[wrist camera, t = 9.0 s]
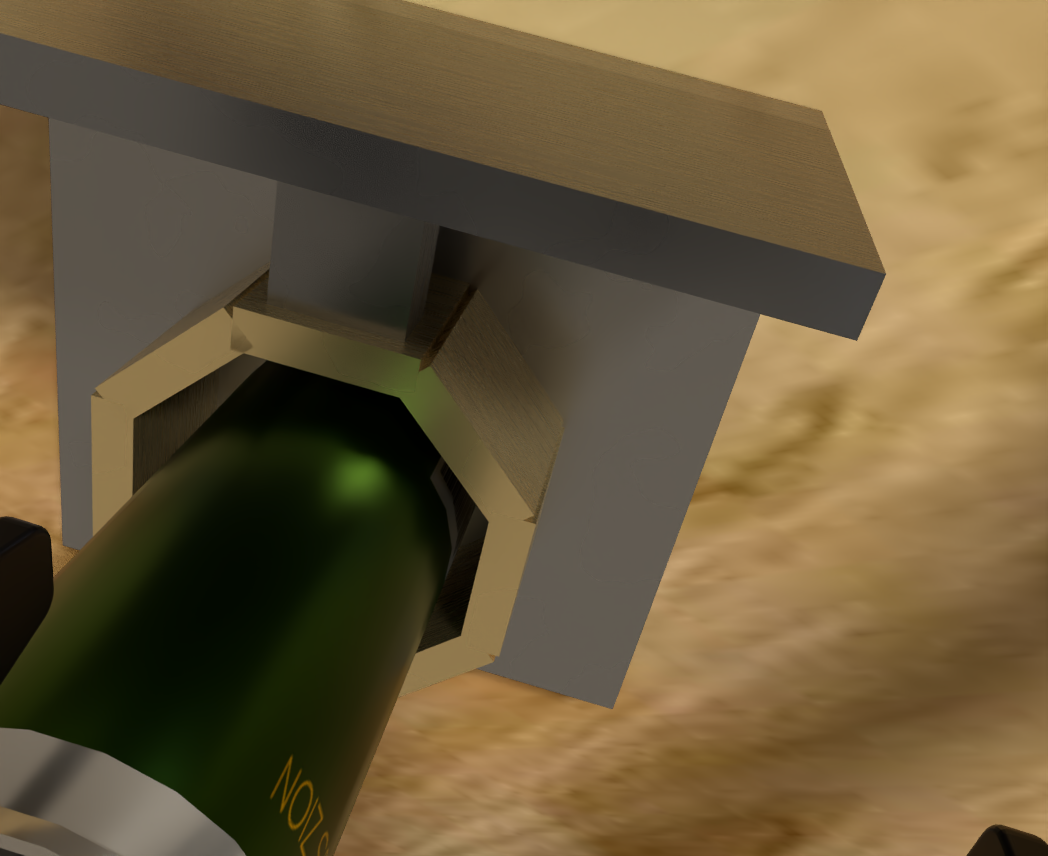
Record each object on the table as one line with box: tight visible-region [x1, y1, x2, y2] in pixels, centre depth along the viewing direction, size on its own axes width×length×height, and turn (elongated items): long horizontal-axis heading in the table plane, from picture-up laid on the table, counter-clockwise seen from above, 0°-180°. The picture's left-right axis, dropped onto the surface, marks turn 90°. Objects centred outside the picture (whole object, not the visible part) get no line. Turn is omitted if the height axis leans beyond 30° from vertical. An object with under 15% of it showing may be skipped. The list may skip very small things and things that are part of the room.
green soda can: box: [0, 360, 476, 856], centre depth 16 cm, size 5×5×12 cm
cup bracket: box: [0, 0, 886, 709], centre depth 18 cm, size 14×14×8 cm
